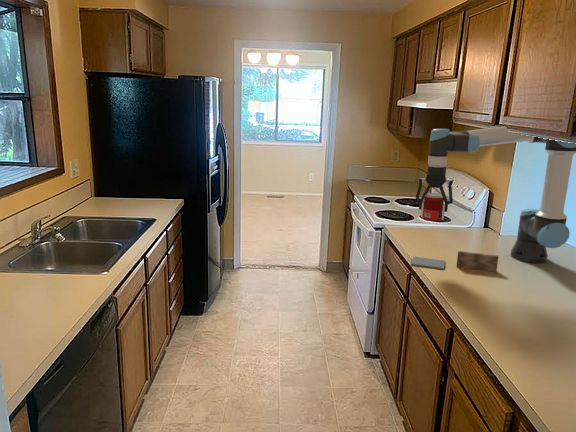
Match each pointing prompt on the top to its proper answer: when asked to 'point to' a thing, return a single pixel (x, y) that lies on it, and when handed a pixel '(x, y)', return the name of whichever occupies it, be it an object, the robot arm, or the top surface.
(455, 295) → the top surface
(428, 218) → the canned food
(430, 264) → the slate mat
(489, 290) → the top surface
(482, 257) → the walnut screen
